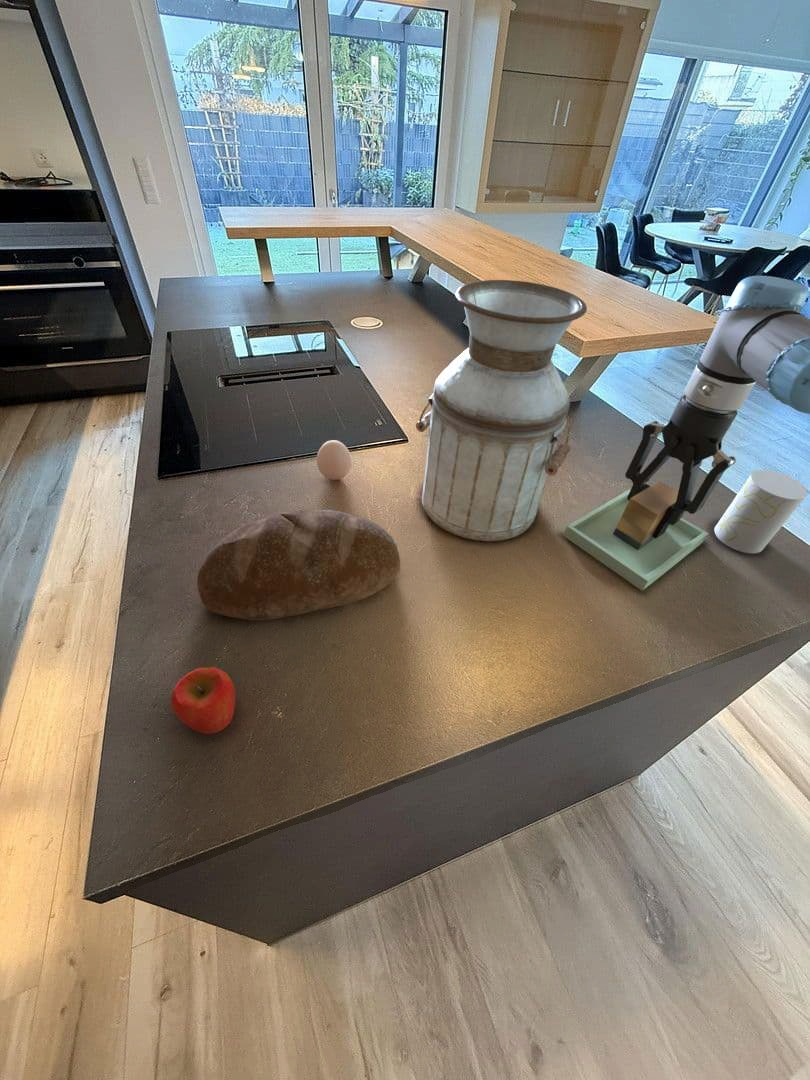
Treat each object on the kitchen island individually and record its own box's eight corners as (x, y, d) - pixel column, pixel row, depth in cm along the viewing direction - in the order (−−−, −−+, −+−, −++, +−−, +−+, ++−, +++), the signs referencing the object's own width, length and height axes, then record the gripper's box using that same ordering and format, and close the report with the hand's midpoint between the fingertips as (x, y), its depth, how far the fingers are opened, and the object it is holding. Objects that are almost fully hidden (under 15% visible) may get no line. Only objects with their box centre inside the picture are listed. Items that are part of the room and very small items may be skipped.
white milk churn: (558, 496, 90) (628, 297, 65) (521, 563, 76) (593, 341, 51) (444, 456, 98) (469, 266, 74) (392, 510, 84) (402, 297, 60)
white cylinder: (704, 524, 86) (740, 471, 78) (742, 521, 87) (780, 468, 79) (735, 555, 80) (776, 501, 72) (774, 551, 81) (819, 497, 73)
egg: (313, 471, 92) (310, 436, 86) (345, 464, 94) (344, 430, 89) (324, 490, 88) (321, 454, 82) (357, 482, 90) (356, 447, 84)
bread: (204, 562, 72) (184, 506, 65) (384, 532, 80) (385, 479, 72) (203, 644, 62) (179, 588, 54) (411, 601, 69) (417, 546, 61)
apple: (228, 684, 58) (214, 650, 52) (252, 721, 54) (239, 689, 49) (178, 715, 54) (158, 682, 49) (199, 756, 51) (180, 725, 46)
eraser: (665, 530, 83) (686, 495, 77) (637, 550, 78) (657, 514, 73) (640, 515, 86) (659, 480, 80) (612, 534, 81) (630, 498, 76)
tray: (702, 542, 82) (708, 533, 80) (642, 591, 73) (648, 581, 71) (625, 497, 91) (630, 488, 89) (563, 535, 81) (567, 526, 80)
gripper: (638, 383, 68) (587, 506, 84) (765, 437, 58) (680, 564, 74) (665, 373, 72) (611, 492, 88) (789, 422, 62) (703, 546, 78)
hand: (643, 525), depth 81 cm, fingers closed on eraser, 5 cm apart
